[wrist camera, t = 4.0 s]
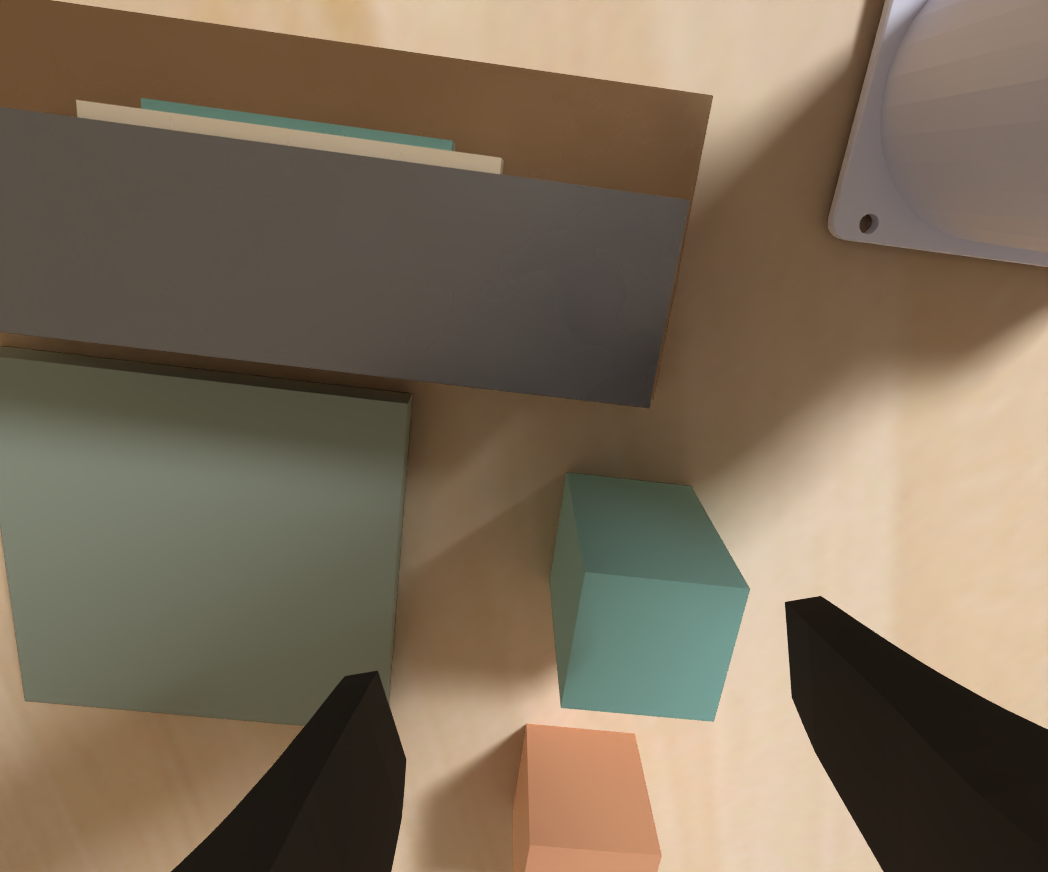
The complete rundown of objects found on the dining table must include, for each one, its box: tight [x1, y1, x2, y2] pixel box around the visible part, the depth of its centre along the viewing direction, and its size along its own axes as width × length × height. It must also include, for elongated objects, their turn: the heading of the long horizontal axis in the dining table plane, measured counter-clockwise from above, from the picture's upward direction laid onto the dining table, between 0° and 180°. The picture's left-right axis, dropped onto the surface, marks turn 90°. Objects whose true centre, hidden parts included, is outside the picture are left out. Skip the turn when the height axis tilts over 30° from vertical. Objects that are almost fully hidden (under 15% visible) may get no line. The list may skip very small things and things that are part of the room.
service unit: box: [0, 0, 713, 408], centre depth 16 cm, size 18×8×7 cm, turn 83°
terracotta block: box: [513, 724, 662, 872], centre depth 24 cm, size 4×4×5 cm
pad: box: [0, 346, 412, 726], centre depth 23 cm, size 12×12×1 cm
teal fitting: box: [549, 472, 750, 722], centre depth 20 cm, size 4×4×6 cm
